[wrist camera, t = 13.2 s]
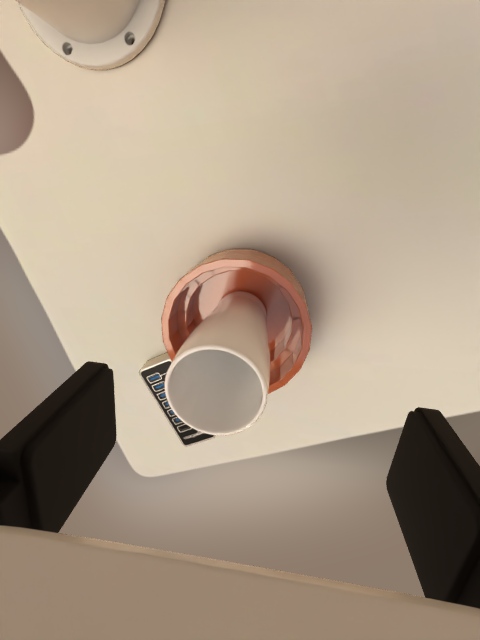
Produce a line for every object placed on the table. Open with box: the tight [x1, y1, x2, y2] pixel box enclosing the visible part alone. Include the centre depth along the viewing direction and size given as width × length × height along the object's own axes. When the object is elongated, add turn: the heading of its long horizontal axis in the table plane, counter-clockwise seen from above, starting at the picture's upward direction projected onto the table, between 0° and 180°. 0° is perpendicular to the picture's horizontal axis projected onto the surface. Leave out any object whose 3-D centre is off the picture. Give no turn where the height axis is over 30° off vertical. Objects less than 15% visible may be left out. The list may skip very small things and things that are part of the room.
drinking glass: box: [165, 291, 270, 435], centre depth 28 cm, size 7×7×15 cm
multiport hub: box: [139, 353, 216, 446], centre depth 39 cm, size 4×11×2 cm, turn 26°
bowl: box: [161, 249, 312, 394], centre depth 33 cm, size 13×13×6 cm
